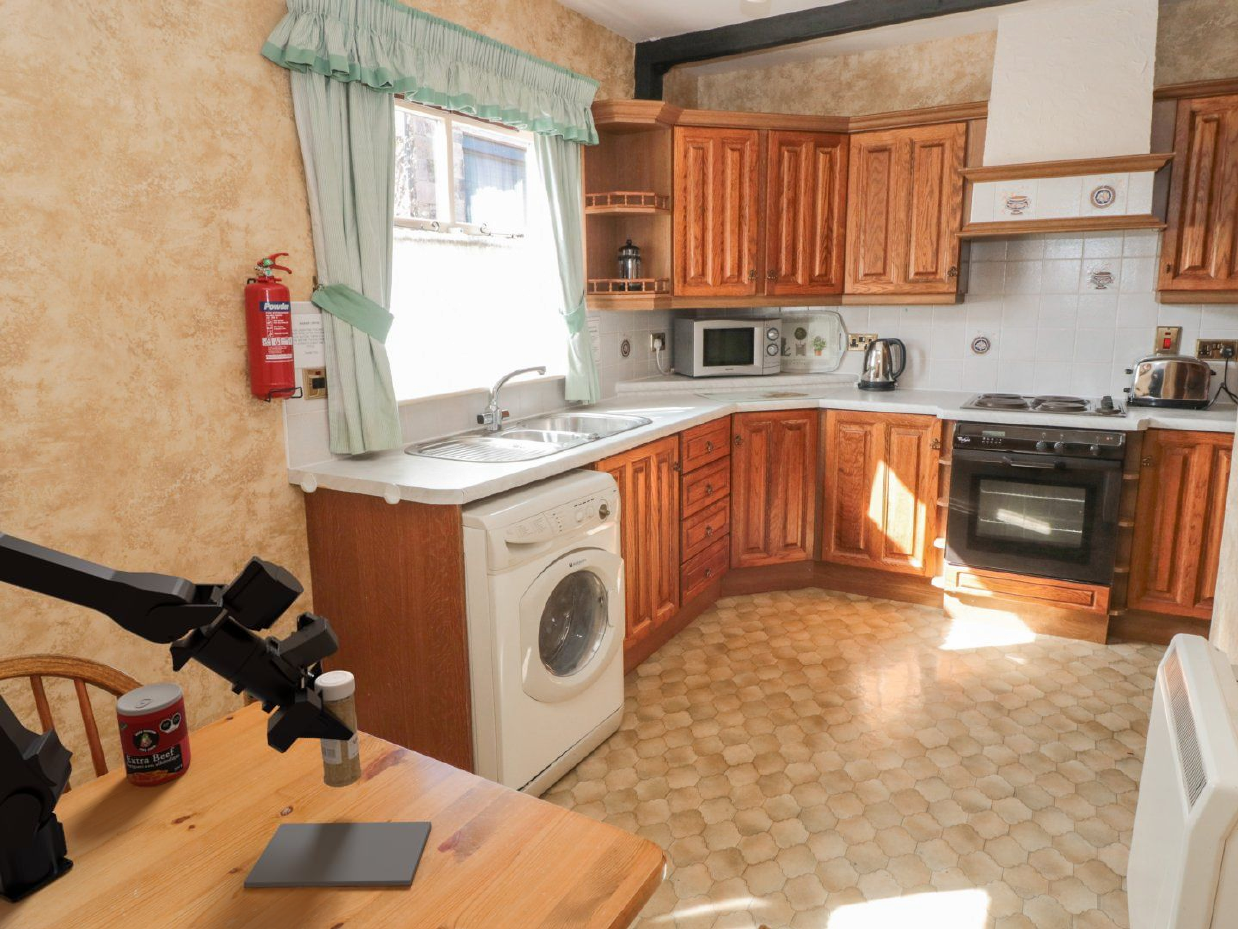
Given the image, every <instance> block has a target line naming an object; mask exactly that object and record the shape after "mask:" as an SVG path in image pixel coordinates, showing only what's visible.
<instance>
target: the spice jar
mask: <svg viewBox="0 0 1238 929" xmlns="http://www.w3.org/2000/svg"><path fill="white" fill-rule="evenodd" d="M355 685H356V684H355V677H354V674H353V673H352V672H350V671H345V670H332V671H328V672H325V673H323V675H321V676H319V677H318V678H317V679H316V680H315V682H314V687H315V693H316V694H318V693H319V692H320V691H321V689H323V691H324V703H325V706H326V707H327V708H328V709H329V710H331V711H332V712H333V713H334V714H335V715H336V716H337V717H338V718H339V719H341V720H342V721H343V722H344V723H345V724H346V725H347V726H348V727H349V728H350V729H351V730H352V731H353V732H354V735H353V736H352V738H351V739H350V740H348V741H345V740H332V739H320V740H319V741H320V742H319V743H320V750H321V759H322V766H323V772H324V773H323V774H324V775H323V782H324V783H325V784H326V786H328V787H331V788H344V787H348V786H351V785H352V784H354V783H356V782H357V781H358V780H359V779H361V776H362V775H363V774H362V769H361V761H360V744H359V736H358V735H359V734H358V723H357V714H356V706H355V689H356V686H355Z"/></svg>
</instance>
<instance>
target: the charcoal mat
mask: <svg viewBox="0 0 1238 929" xmlns="http://www.w3.org/2000/svg"><path fill="white" fill-rule="evenodd" d="M431 830H432V821H380V822H379V821H373V822H372V821H370V822H311V823H310V822H308V823H307V822H304V823H301V822H299V823H296V822H295V823H292V822H291V823H280V825H279V826H278V828H277V829H276V831H275V832H274V833H273V836H272V837H271V838H270V840H269V842H268V843H267V845H266V847H265V848H264V849H263V851H262V852H261V854H260V856H259V858H257V860H256V862H255V864H254V865H253V867H252V868H251V870H250V872H249V873H248V875H247V876H246V877H245V879H244V881H243V887H244V888H280V887H281V888H283V887H284V888H286V887H287V888H294V887H296V888H297V887H363V886H364V887H365V886H366V887H375V886H385V887H386V886H411V885H412V882H413V880H414V877H415V874H416V872H417V869H418V866H419V863H420V860H421V857H422V854H423V851H424V848H425V845H426V842H427V840H428V837H429V835H430V832H431Z"/></svg>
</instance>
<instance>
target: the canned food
mask: <svg viewBox="0 0 1238 929" xmlns="http://www.w3.org/2000/svg"><path fill="white" fill-rule="evenodd" d="M115 713H116V718H117V725H118V731H119V732H118V733H119V738H120V739H119V740H120V744H121V750H122V755H123V756H122V758H123V761H124V769H125V775H126V777H127V779H128V781H129V783H131V785H134V786H136V787H141V788H143V787H144V788H145V787H146V788H147V787H155V786H158V785H163V784H166V783H169V782H170V781H173V780H175V779H177V778H178V777H180V776H181V775H183V774H184V773H185V772H186V771H187V770H188V768H190V765H191V761H192V760H191V759H192V753H191V746H190V745H191V744H190V737H189V729H188V724H187V723H188V721H187V715H186V707H185V699H184V695H183V689H182V687H181V686H180V684H177V683H175V682H174V683H172V682H157V683H151V684H147V685H142V686H141V687H140V686H139V687H137V688H134V689H132V690H130V691H128V692H126V693H125V694H123V695H122V696H120V697H119V698H118V699H117V701H116V703H115Z"/></svg>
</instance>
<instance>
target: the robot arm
mask: <svg viewBox="0 0 1238 929" xmlns="http://www.w3.org/2000/svg"><path fill="white" fill-rule="evenodd" d="M0 582H2V583H6V584H9V585H12V586H14V587H18V588H22V589H25V590H28V591H32V592H34V593H38V594H42V595H45V596H48V597H52V598H54V599H58V600H61V601H64V602H68V603H71V604H74V605H77V606H80V607H84V608H88V609H91V610H93V611H97V612H99V613H101V614H103V615H105V616H107V617H108V618H109V619H111V621H113V622H114V623H115V624H117V625H118V626H119V627H121V628H122V629H124V630H126V631H128V632H130V633H132V634H134V635H136V636H138V637H140V638H142V639H144V640H145V641H148V642H150V643H153V644H158V645H169V644H170V646H169V650H168V651H169V653H170V655H171V659H172V671H173V672H175V673H176V672H177V673H178V672H180V670H181V669H182V668H183V667H184V666H185V665H186V664H187V663H188V662H189V661H190V659H193V660H195V662H198V663H199V664H201V665H202V666H204V667H206V669H207V668H208V669H209V670H210V671H212V672H213V673H215V674H217V675H218V676H220V677H221V678H223V679H225V680H226V681H227V682H230V683H231V684H232V685H231V690H230V691H231V692H232V693H234V694H236V695H238V696H240V695H241V694H242V692H245V693H247V694H248V695H250V696H251V697H253V698H255V699H256V700H258V701H259V702H260V703H262V704H261V710H262V711H263V712H265V713H266V714H268V715H270V714H271V713H272V711H273V710H274V709H275V708H276V707H277V709H276V710H275V711H274V713H272V714H271V715H270V716H269V717H268V719H267V726H266V728H267V731H266V738H267V746H269V747H271V748H272V749H273V750H276V751H277V752H278V753H281V754H284V753H286V752H287V751H288V750H289V749H290V748H291V746H292V745H293V744H294V743H295V742H296V741H297V740H298V739H332V740H345V741H348V740H350V739H351V738H352V736H353V735H354V732H353V731H352V730H351V729H350V728H349V727H348V726H347V725H346V724H345V723H344V722H343V721H342V720H341V719H339V718H338V717H337V716H336V715H335V714H334V713H333V712H332V711H331V710H329V709H328V708H327V707H326V706H325V703H324V691H323V689H321V691H320V692H319V693H318V694H316V693H315V687H314V682H315V680H316V679H317V678H318V677H319V676H321V675H323V674H324V673H323V663H322V660H323V659H325V658H329V657H332V656H333V655H334V654H336V653H337V652H338V651H339V649H340V645H339V642H338V640H339V637H338V636H337V634H336V633H335V631H334V629H333V628H332V627H331V625H330V621H329V619H327V618H326V617H325V616H324V617H323V615H322V614H321V615H319V616H317V615H315V614H313V613H312V612H309V611H305V612H303V613H300V615H298V616H296V631H295V630H293V631H291V632H290V635H289V636H288V637H286V638H285V639H283V640H281V639H279V638H277V637H276V636H274V635H272V636H269V635H267V636H266V637H265V638H263V637H261V636H260V635H258V634H256V633H255V632H258V633H260V632H261V631H262V630H270V629H271V628H272V627H273V626H274V624H275V623H276V622H277V621H278V620H279V619H280V618H281V617H282V616H283V615H284V613H286V612H287V611H288V609H290V607H291V606H292V605H293V604H294V602H296V600H297V599H298V598H299V597H300V596H301V595H302V594H303V593H304V591H305V588H304V586H303V584H302V583H301V581H299V580H298V579H297V577H295V576H294V574H292V573H291V572H290V571H289V570H288V569H286V568H284V566H282V565H277V564H275V563H274V562H271V561H268V560H263V559H261V558H260V557H259V556H257V555H253V556H252V557H251V558H250V559H249V560H248V561H247V562H246V564H245V565H244V568H243V569H242V571H240V572H239V573H238V575H237V576H236V577H235V578H234V579H233V580H232V581H231V582H230V583H229V584H228V583H193V582H192V581H191V580H189V579H186V578H185V577H181V576H175V575H169V574H163V573H162V574H161V573H156V572H151V571H148V572H147V571H145V572H139V571H137V572H134V571H132V572H131V571H125V570H117V569H113V568H111V567H109V566H105V565H102V564H99V563H96V562H93V561H90V560H88V559H87V560H86V559H83V558H80V557H77V556H74V555H72V554H67V553H65V552H62V551H59V550H55V549H53V548H49V547H46V546H43V545H40V544H37V543H33V542H31V541H28V540H25V539H22V538H19V537H16V536H13V535H10V534H6V533H5V532H3V531H1V530H0ZM190 631H191V632H190ZM253 631H255V632H253ZM189 632H190V633H189ZM186 635H187V636H186ZM185 636H186V637H185ZM184 637H185V638H184ZM311 666H312V667H311ZM73 755H74V753H73V752H72V751H71V750H69V749H67V748H66V747H65V746H64V745H63V744H62V742H61V740H60V737H59V735H58V733H57V731H56V730H55V729H54V728H50V729H48V730H46V731H45V732H43V733H42V734H39V733H36V732H34V731H32V730H31V729H28V728H26V727H25V726H24V725H23V724H22V723H21V722H20V720H19V718H18V717H17V716H16V714H15V713H14V712H13V710H12V709H11V707H10V706H9V705H8V703H7V701H6V700H5V699H4V697H3V696H2V695H1V694H0V898H2V899H4V900H5V901H8V902H10V903H15V902H16V903H17V902H18V901H20V900H21V899H23V898H25V897H26V896H28V895H29V894H31V893H32V892H35V891H36V890H38V889H39V888H41V887H43V886H45V885H46V884H47V883H49V882H51V881H52V880H54V879H55V878H57V877H58V876H60V875H63V874H64V873H65V872H66V871H68V870H70V869H72V868H73V867H74V861H73V860H72V859H69V858H67V857H66V856H67V855H68V852H69V851H68V847H67V841H66V835H65V829H64V824H63V822H61V821H58V816H57V814H56V813H54V811H55V809H56V807H57V805H58V803H59V801H60V799H61V797H62V795H63V793H64V790H65V788H66V787H67V784H68V782H69V780H70V778H71V774H72V772H73V768H72V763H71V759H72V756H73Z"/></svg>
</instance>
